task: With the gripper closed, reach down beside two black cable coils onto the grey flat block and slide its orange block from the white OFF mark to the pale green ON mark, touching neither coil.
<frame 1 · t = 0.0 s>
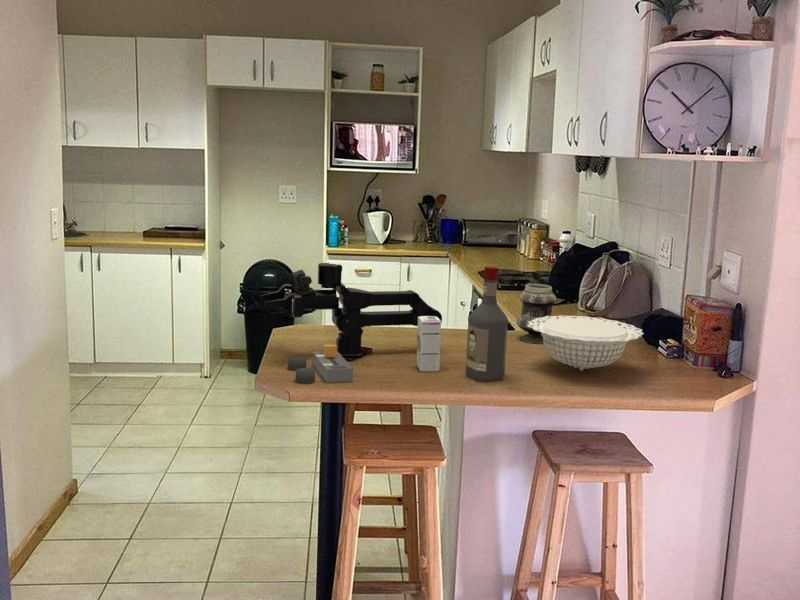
hand: (262, 300, 231), 17 cm above the breakfast bar, tool horizontal, fingers open, 9 cm apart
grey flat block: (332, 372, 222), on the breakfast bar
liquor: (484, 377, 224), on the breakfast bar
coil a: (297, 368, 225), on the breakfast bar
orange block: (330, 350, 224), point 5 cm above the breakfast bar, slide at 0.0 cm
apothecary jar: (534, 340, 269), on the breakfast bar
coil b: (305, 381, 214), on the breakfast bar
colander: (581, 371, 234), on the breakfast bar
syrup box: (427, 369, 230), on the breakfast bar
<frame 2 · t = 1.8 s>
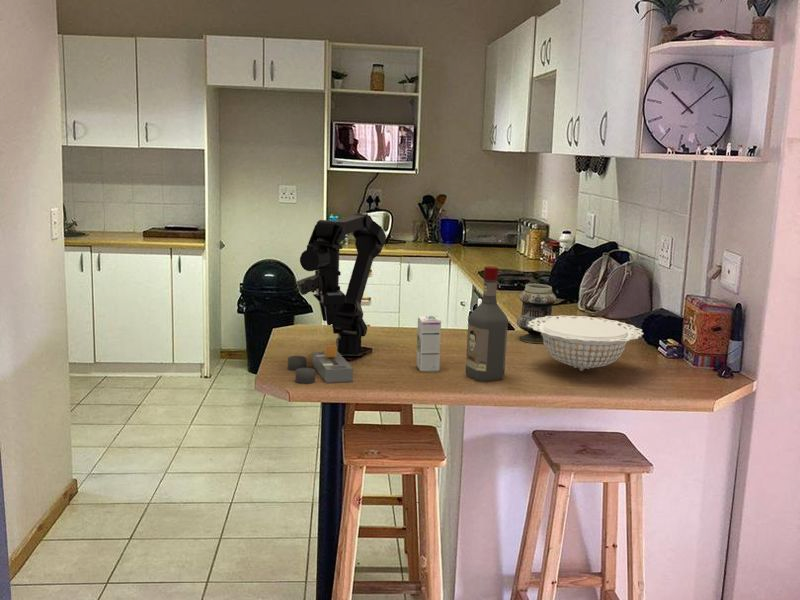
hand: (327, 322, 227), 12 cm above the breakfast bar, tool pointing down, fingers open, 5 cm apart
nothing on the breakfast bar moved.
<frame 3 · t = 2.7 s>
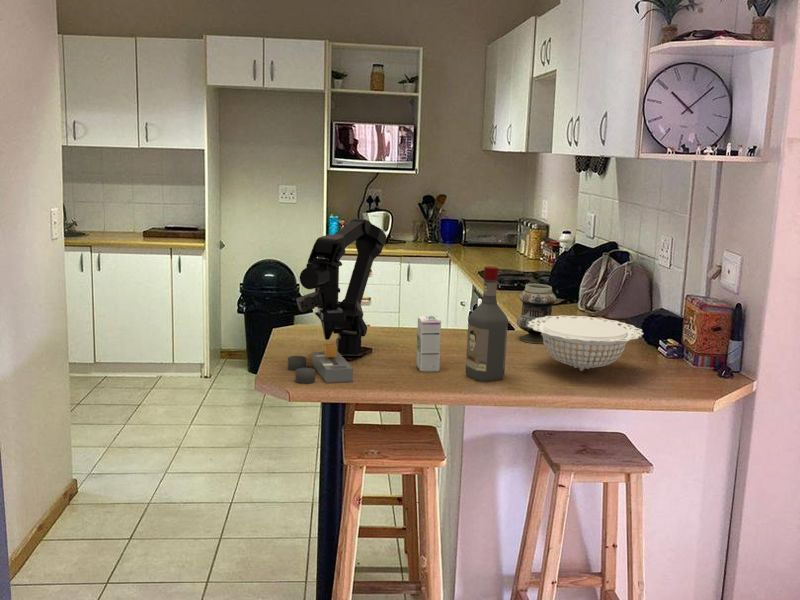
hand: (327, 339, 228), 7 cm above the breakfast bar, tool pointing down, fingers closed
nothing on the breakfast bar moved.
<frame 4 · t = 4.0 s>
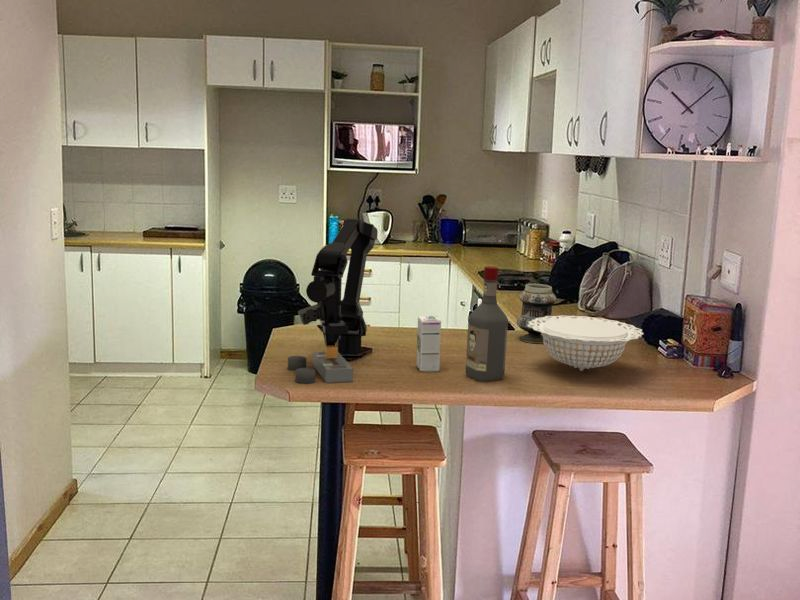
hand: (329, 352, 225), 5 cm above the breakfast bar, tool pointing down, fingers closed
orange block: (331, 351, 223), point 5 cm above the breakfast bar, slide at 1.2 cm, touching gripper
everything else where it was.
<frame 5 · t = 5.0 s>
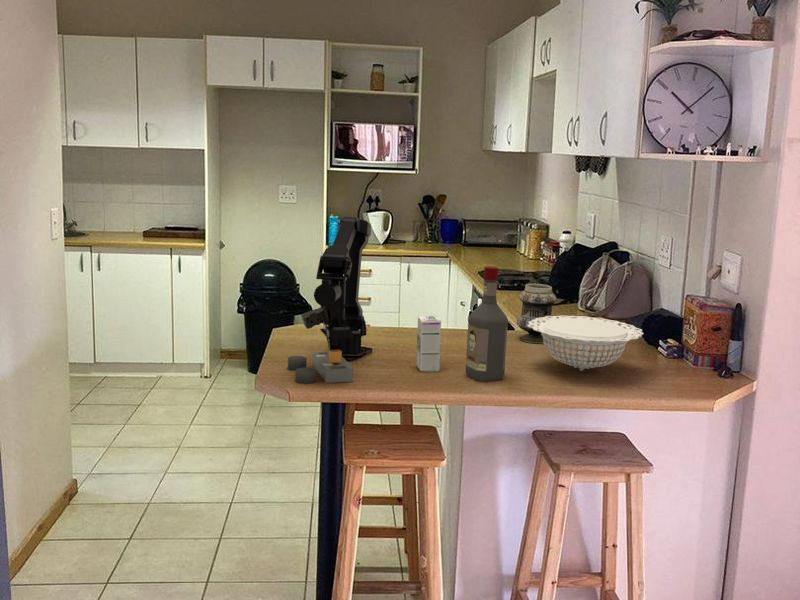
hand: (332, 356, 221), 5 cm above the breakfast bar, tool pointing down, fingers closed
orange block: (335, 356, 218), point 5 cm above the breakfast bar, slide at 5.7 cm, touching gripper
everything else where it was.
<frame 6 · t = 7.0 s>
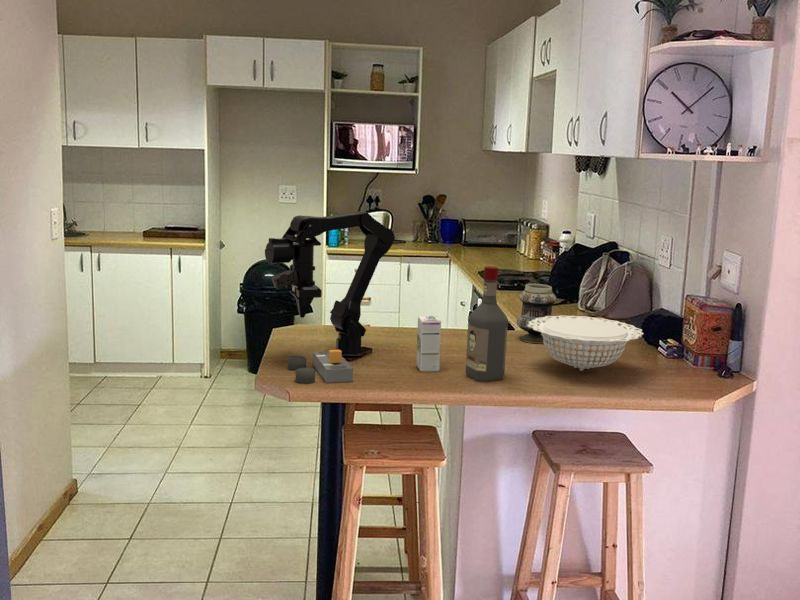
hand: (302, 317, 230), 13 cm above the breakfast bar, tool pointing down, fingers closed
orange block: (335, 356, 218), point 5 cm above the breakfast bar, slide at 5.8 cm
everything else where it was.
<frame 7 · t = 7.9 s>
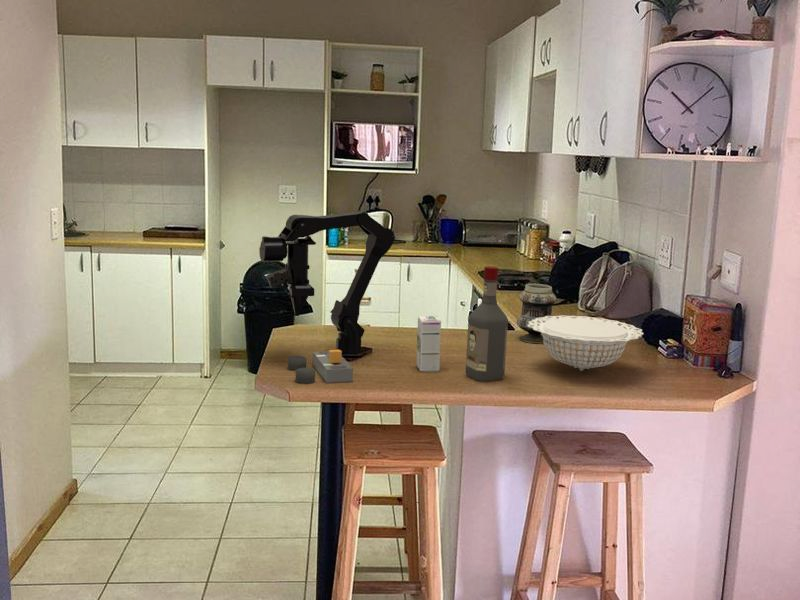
hand: (296, 315, 232), 12 cm above the breakfast bar, tool pointing down, fingers closed
nothing on the breakfast bar moved.
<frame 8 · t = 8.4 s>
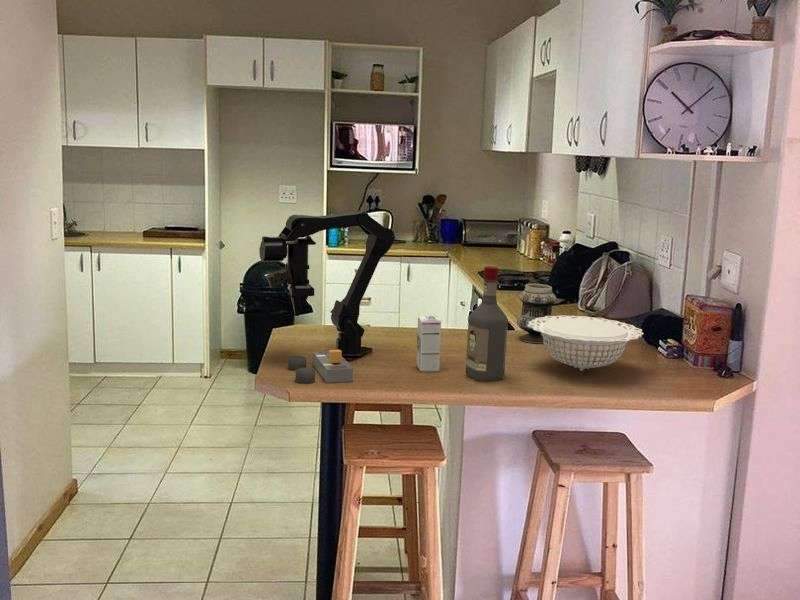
hand: (296, 315, 232), 12 cm above the breakfast bar, tool pointing down, fingers closed
nothing on the breakfast bar moved.
at the end: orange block slide at 5.8 cm; coil a moved 0.1 cm from its start; coil b moved 0.1 cm from its start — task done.
